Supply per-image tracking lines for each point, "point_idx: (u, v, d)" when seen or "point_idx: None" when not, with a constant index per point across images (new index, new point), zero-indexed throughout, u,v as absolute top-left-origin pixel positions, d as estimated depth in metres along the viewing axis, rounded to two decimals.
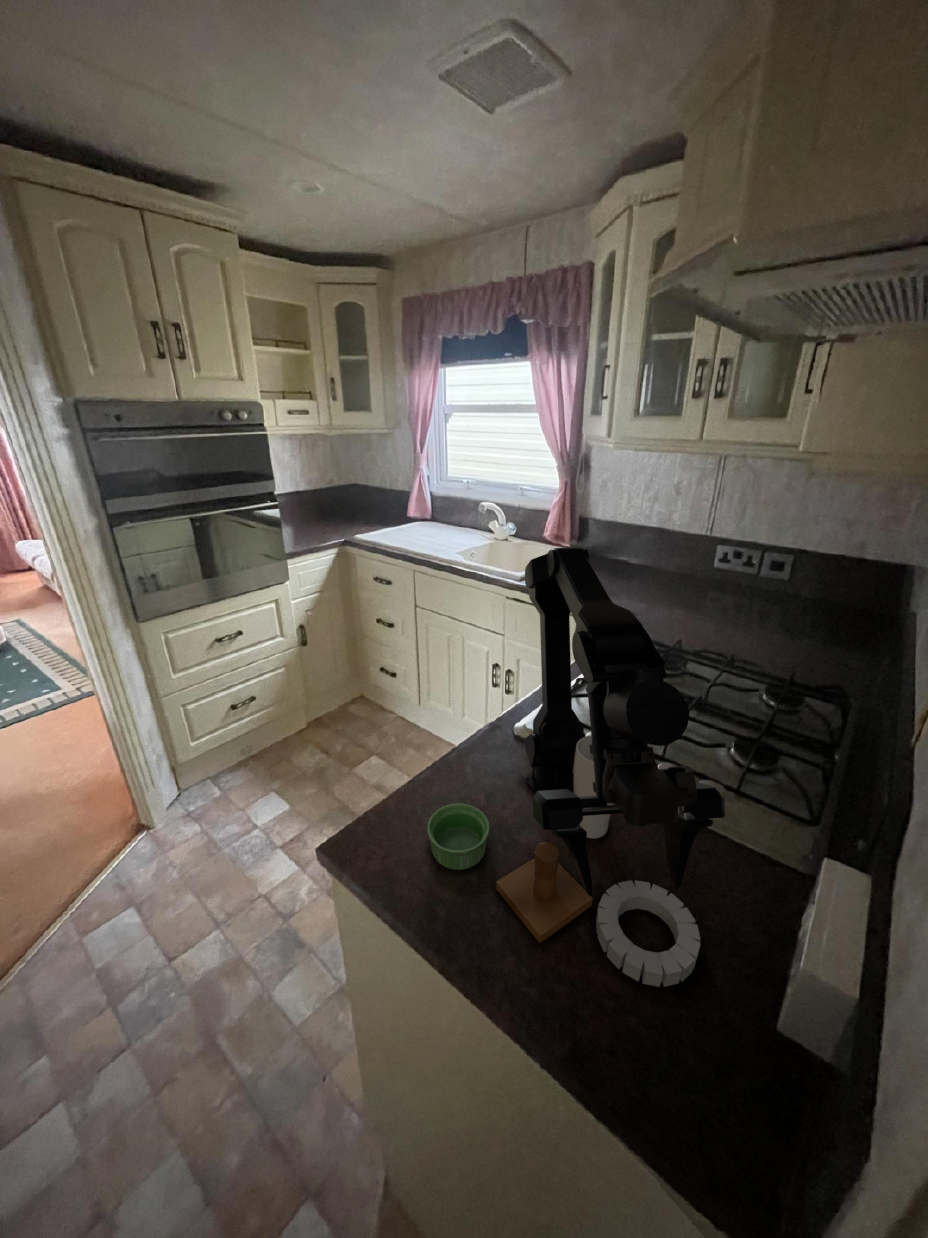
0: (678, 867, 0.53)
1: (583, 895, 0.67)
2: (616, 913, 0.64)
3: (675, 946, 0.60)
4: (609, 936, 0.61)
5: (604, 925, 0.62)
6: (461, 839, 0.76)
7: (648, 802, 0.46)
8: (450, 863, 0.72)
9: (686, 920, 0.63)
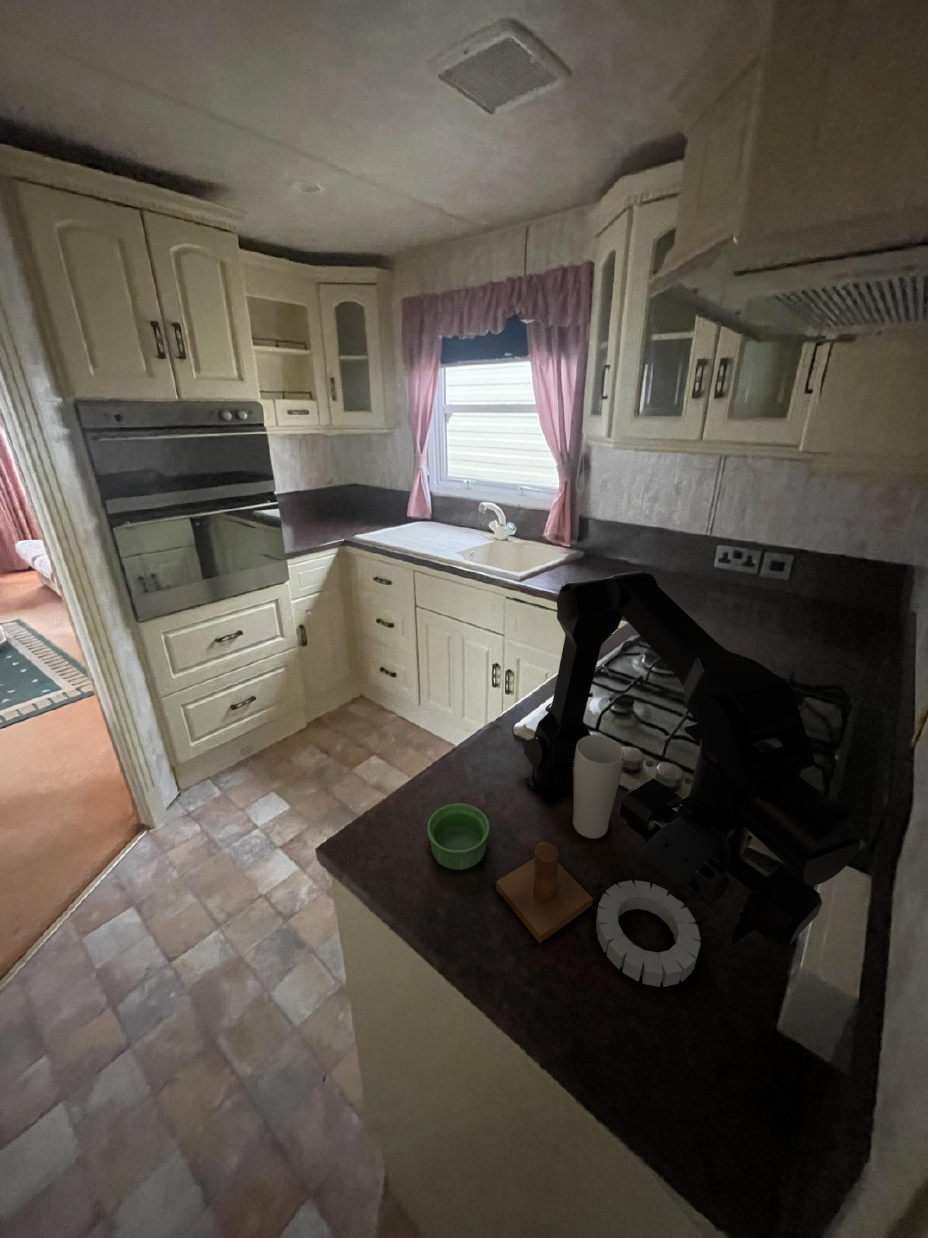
0: (735, 931, 0.51)
1: (583, 895, 0.67)
2: (616, 913, 0.64)
3: (675, 946, 0.60)
4: (609, 936, 0.61)
5: (604, 925, 0.62)
6: (461, 839, 0.76)
7: (652, 867, 0.48)
8: (450, 863, 0.72)
9: (686, 920, 0.63)
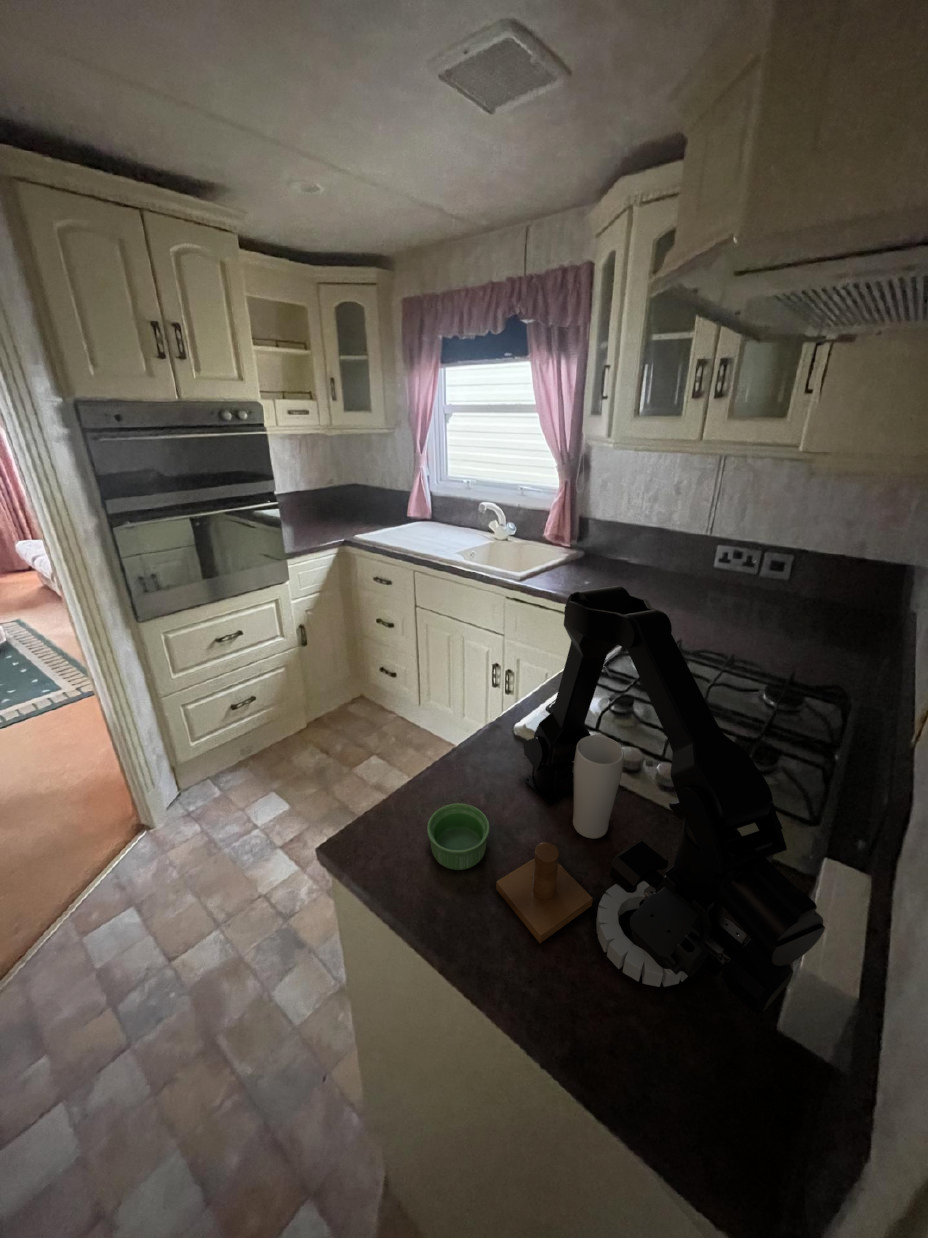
0: None
1: (583, 895, 0.67)
2: (616, 913, 0.64)
3: None
4: (609, 936, 0.61)
5: (604, 925, 0.62)
6: (461, 839, 0.76)
7: (638, 937, 0.52)
8: (450, 863, 0.72)
9: None
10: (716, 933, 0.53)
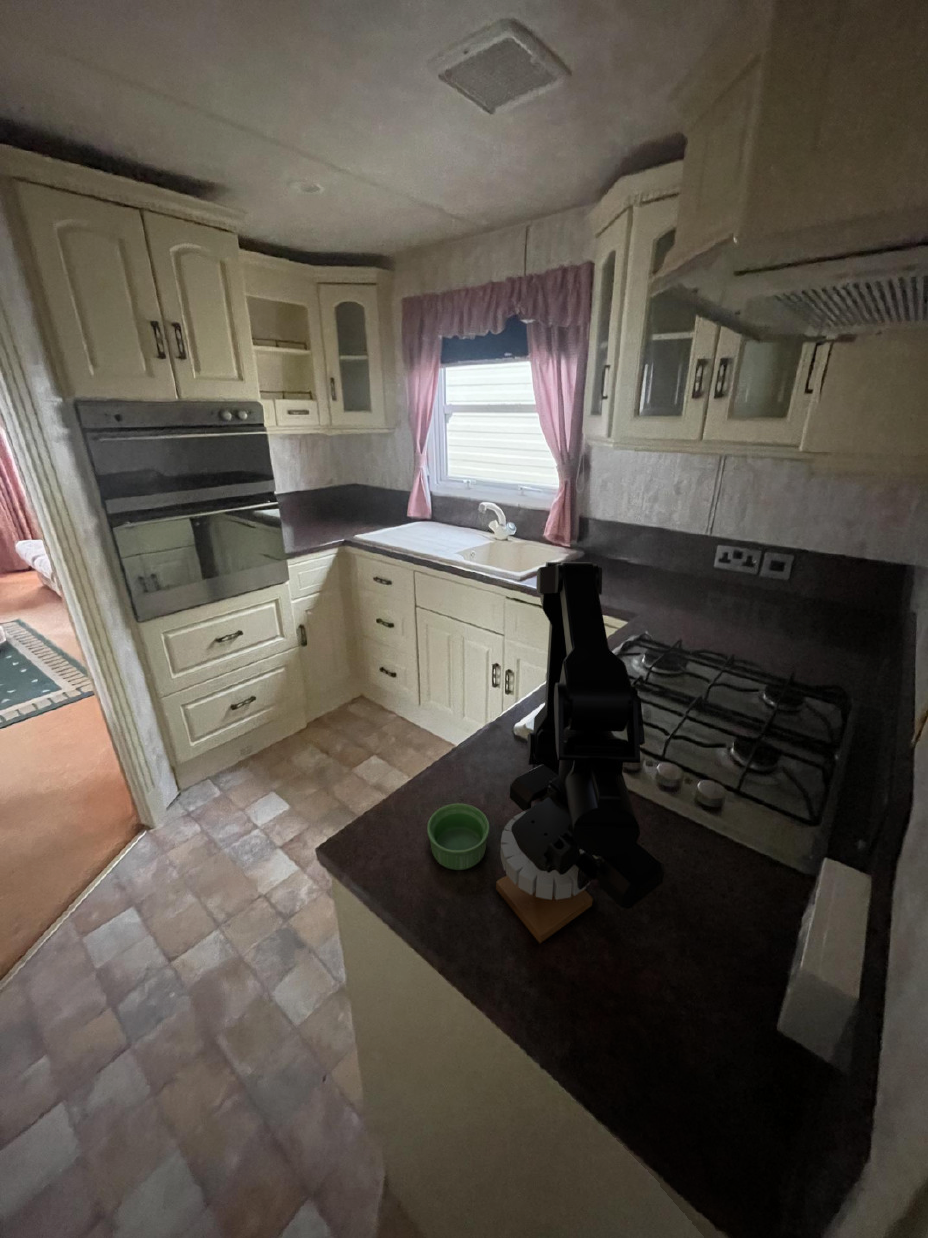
0: (578, 878, 0.59)
1: (583, 895, 0.67)
2: None
3: None
4: (508, 854, 0.63)
5: (505, 845, 0.64)
6: (461, 839, 0.76)
7: (518, 841, 0.53)
8: (450, 863, 0.72)
9: None
10: None
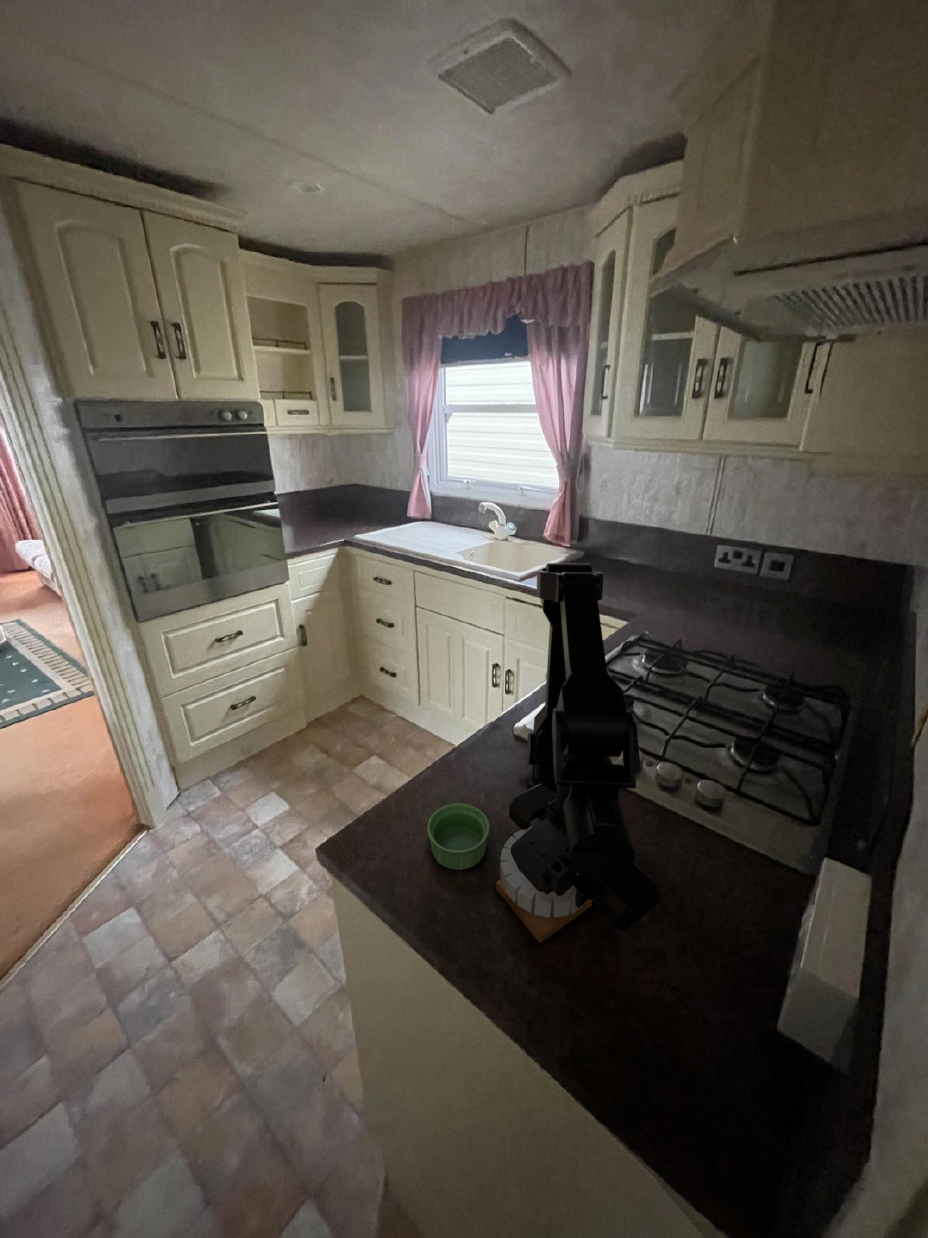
0: (576, 897, 0.60)
1: None
2: None
3: None
4: (507, 872, 0.64)
5: (505, 862, 0.66)
6: (461, 839, 0.76)
7: (517, 863, 0.55)
8: (450, 863, 0.72)
9: None
10: None
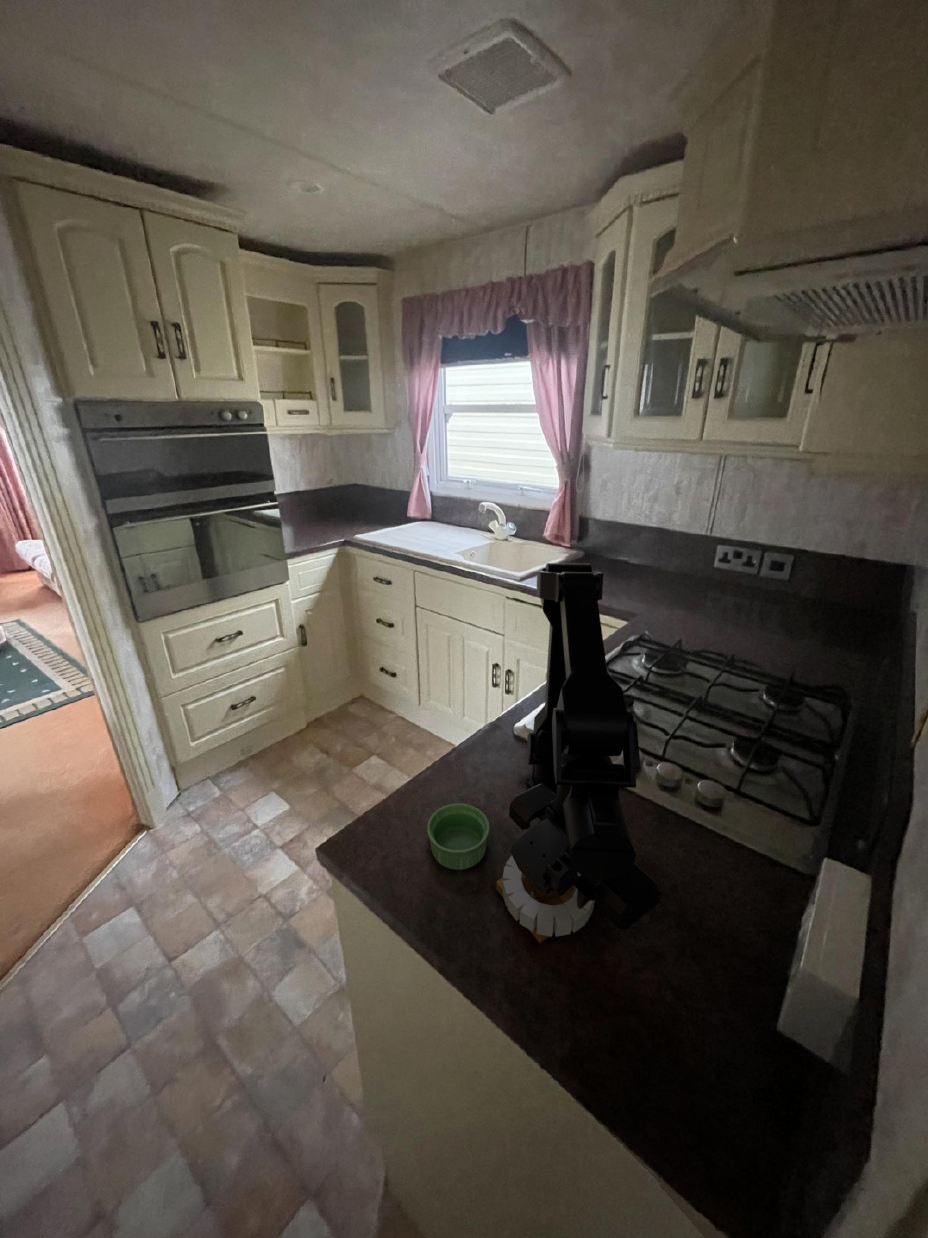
0: (578, 898, 0.60)
1: None
2: None
3: (570, 900, 0.64)
4: (510, 891, 0.65)
5: (507, 881, 0.66)
6: (461, 839, 0.76)
7: (517, 862, 0.55)
8: (450, 863, 0.72)
9: None
10: None
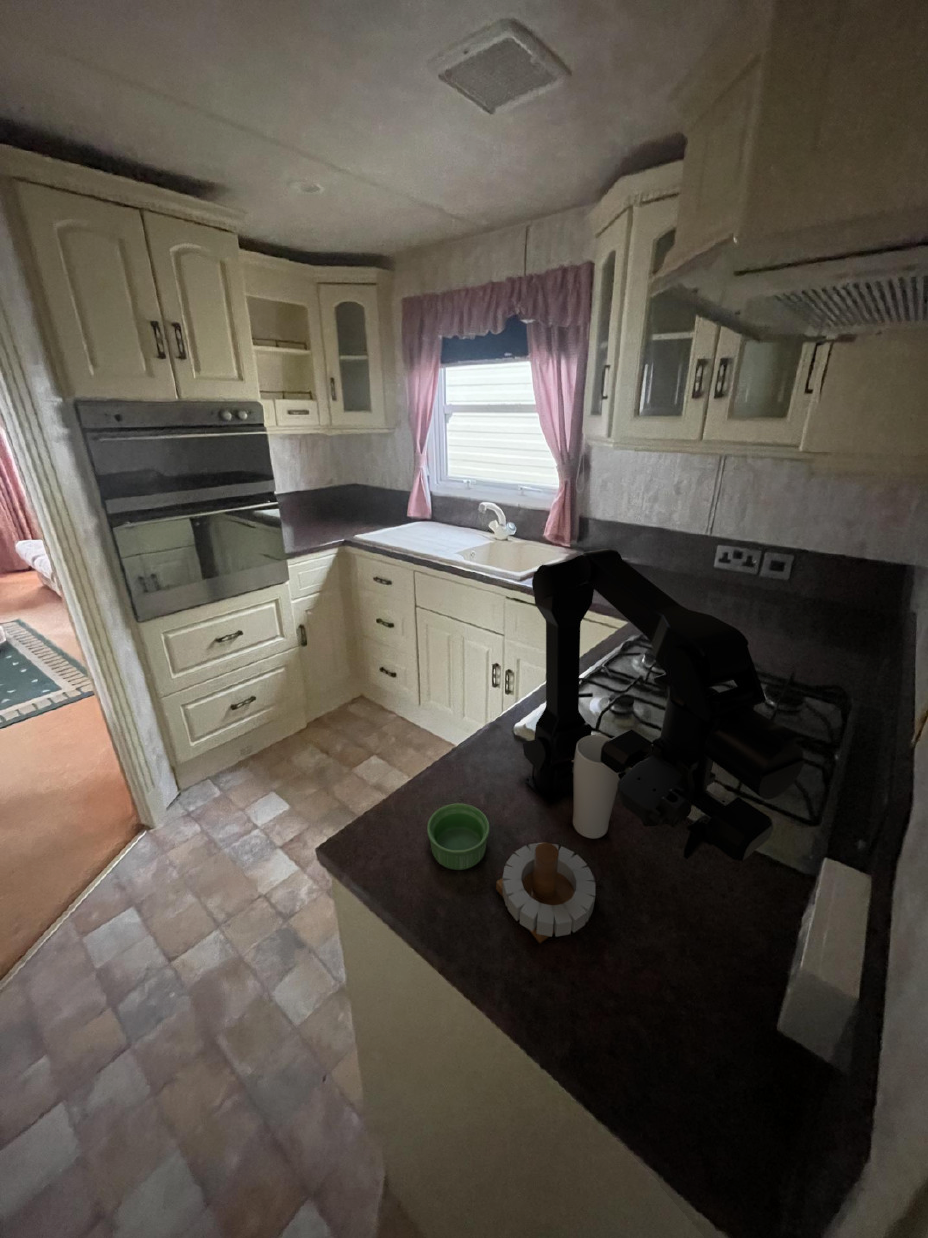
0: (686, 847, 0.59)
1: None
2: (521, 871, 0.68)
3: (570, 900, 0.64)
4: (510, 891, 0.65)
5: (507, 881, 0.66)
6: (461, 839, 0.76)
7: (625, 798, 0.54)
8: (450, 863, 0.72)
9: (585, 877, 0.67)
10: (700, 798, 0.56)
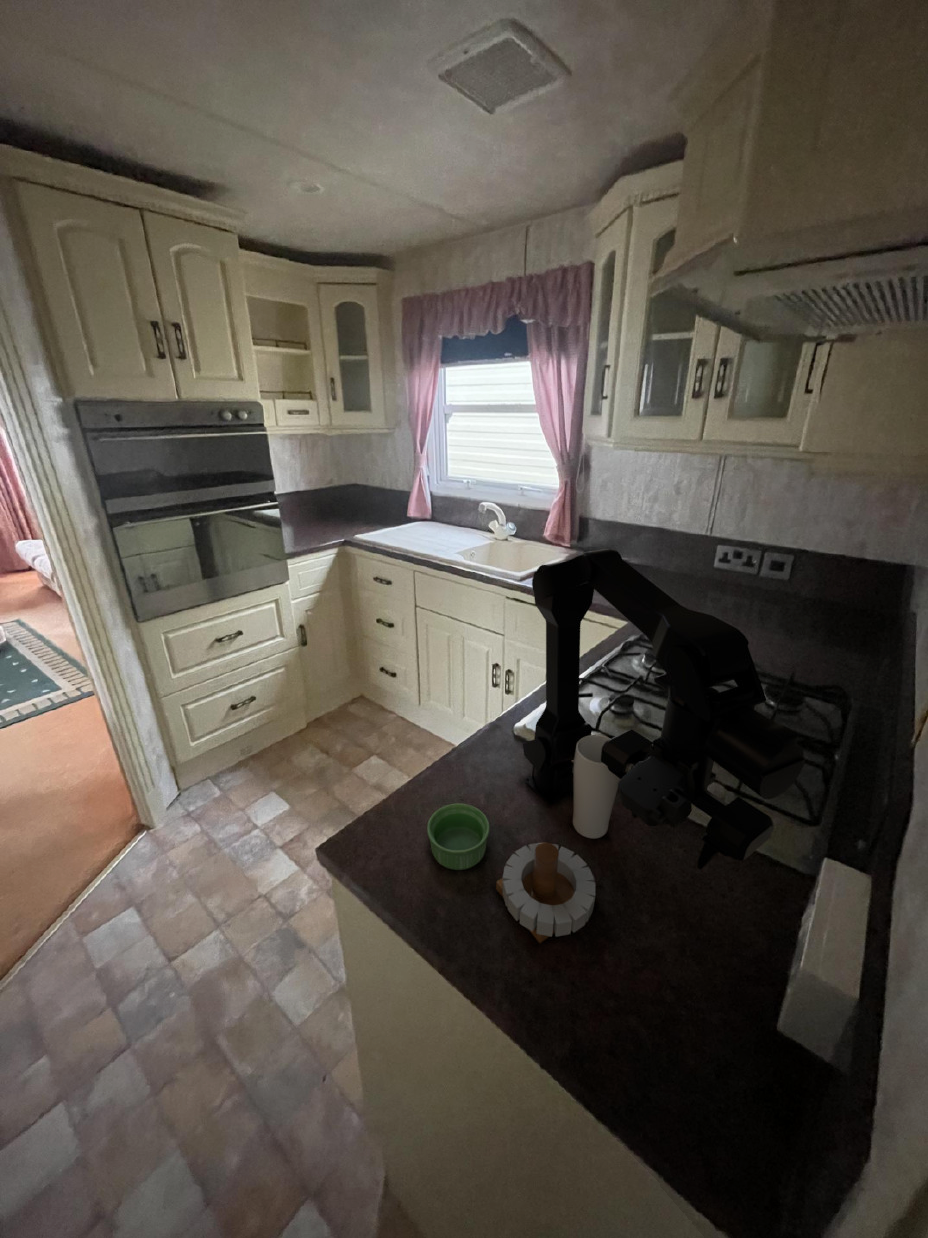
0: (700, 857, 0.57)
1: None
2: (521, 871, 0.68)
3: (570, 900, 0.64)
4: (510, 891, 0.65)
5: (507, 881, 0.66)
6: (461, 839, 0.76)
7: (626, 798, 0.54)
8: (450, 863, 0.72)
9: (585, 877, 0.67)
10: (701, 798, 0.56)
